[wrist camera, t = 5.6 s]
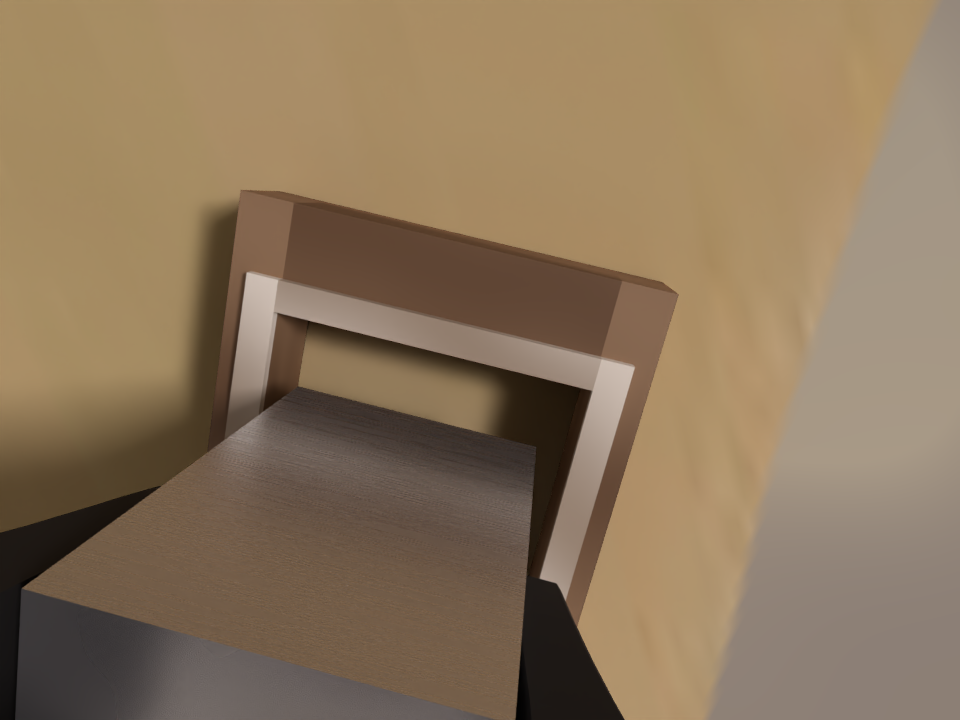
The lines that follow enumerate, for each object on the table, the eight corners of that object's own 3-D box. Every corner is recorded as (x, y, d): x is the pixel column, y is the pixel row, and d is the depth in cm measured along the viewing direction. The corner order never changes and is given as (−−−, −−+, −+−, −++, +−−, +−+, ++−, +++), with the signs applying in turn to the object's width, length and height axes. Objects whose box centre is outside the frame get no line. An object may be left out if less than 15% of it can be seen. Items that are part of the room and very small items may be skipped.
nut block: (481, 653, 13) (412, 1076, 7) (264, 594, 13) (4, 949, 7) (536, 446, 12) (514, 725, 6) (297, 386, 12) (20, 588, 6)
